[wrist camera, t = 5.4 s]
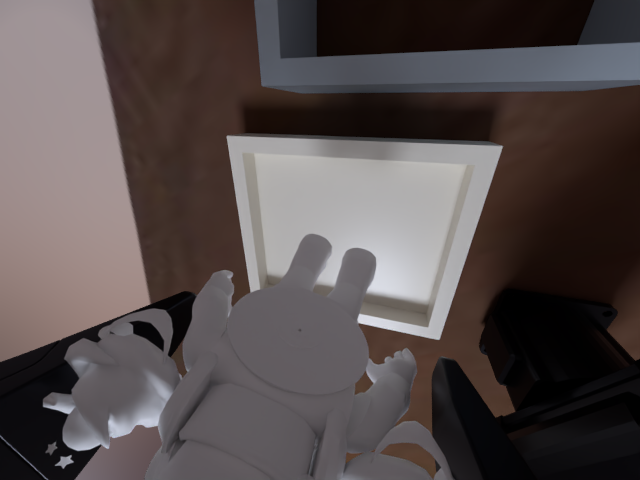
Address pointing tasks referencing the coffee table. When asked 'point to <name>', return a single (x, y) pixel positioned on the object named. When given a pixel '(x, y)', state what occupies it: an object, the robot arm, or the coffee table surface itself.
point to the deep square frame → (449, 58)
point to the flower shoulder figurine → (253, 384)
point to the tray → (365, 214)
